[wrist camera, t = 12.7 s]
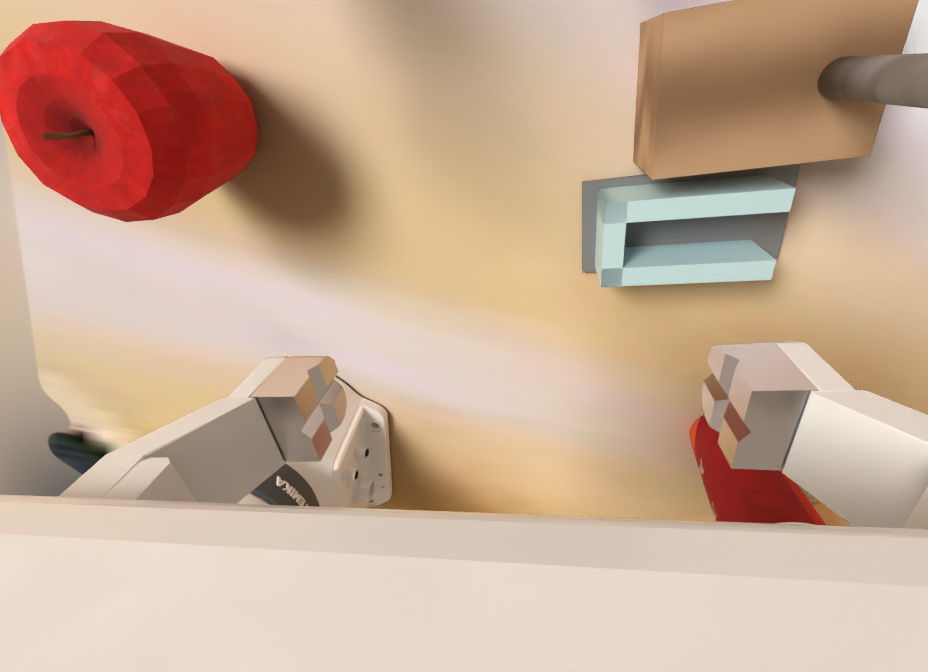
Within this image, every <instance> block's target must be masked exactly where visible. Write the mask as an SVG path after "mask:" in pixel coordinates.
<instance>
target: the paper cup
mask: <svg viewBox="0 0 928 672" xmlns="http://www.w3.org/2000/svg"><path fill="white" fill-rule="evenodd" d="M719 435H720V433H719V432H718V431H716V430H714V429H713V428H711V427H710V426H709V424H708V422H707V420H706V418H705V415H703V416H702V417H700V418H699V419H697V420H696V421H695V422H694V424H693V425H692V427H691V429H690V439H691V443H692V447H693V450H694V454H695V457H696V460H697V463H698V467H699V470H700V473H701V476H702V479H703V482H704V486H705V489H706V492H707V495H708V498H709V501H710V504H711V507H712V511H713V514H714V517H715V520H716V521H717V522H744V523H771V524H798V525H825V526H826V524H825V523H824V521H823V520H822V519H821V517H820V516H819V514H818V513H817V512H816V510H815V509H814V507H813V506H812V505H811V503H810V502H809V500H808V499H807V498H806V496H805V495H804V493H803V492H802V491H801V489H800V488H799V486H798V485H797V484H796V483H795V482H794V481H792V480H791V479H790V478H788V477H787V476H786V475H785V474H783V473H782V471H780V470H756V469H731V467H730V465H729V463H728V461H727V459H726V457H725V455H724V454H723V452H722V450H721V448H720V446H719V444H718V439H719Z"/></svg>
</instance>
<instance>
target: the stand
mask: <svg viewBox="0 0 928 672" xmlns="http://www.w3.org/2000/svg"><path fill="white" fill-rule="evenodd" d="M918 1H919V0H733V1H727V2H722V3H716V4H711V5H705V6H700V7H694V8H689V9H683V10H678V11H672V12H667V13H663V14H661V15H659V16H657V17H654V18H652V19H650V20H647V21H645V22H643V23H641V27H640V45H639V64H638V82H637V100H636V118H635V137H634V155H633V162H634V163H635V164H636V165H637V166H638V167H639V168H641V169H642V170H643V171H644V172H645V173H646V174H647V175H648V176H649V177H650V178H651V179H652V180H655V179H664V178H673V177H682V176H691V175H701V174H710V173H719V172H728V171H737V170H746V169H755V168H764V167H773V166H782V165H791V164H800V163H809V162H818V161H827V160H836V159H845V158H854V157H863V156H870V152H871V149H872V146H873V143H874V140H875V137H876V134H877V130H878V127H879V124H880V121H881V118H882V115H883V111H884V108H885V105H886V104H890V105H900V106H909V107H919V108H928V53H927V54H902V52H903V48H904V45H905V42H906V39H907V36H908V33H909V29H910V26H911V23H912V20H913V17H914V14H915V11H916V7H917V4H918Z"/></svg>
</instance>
